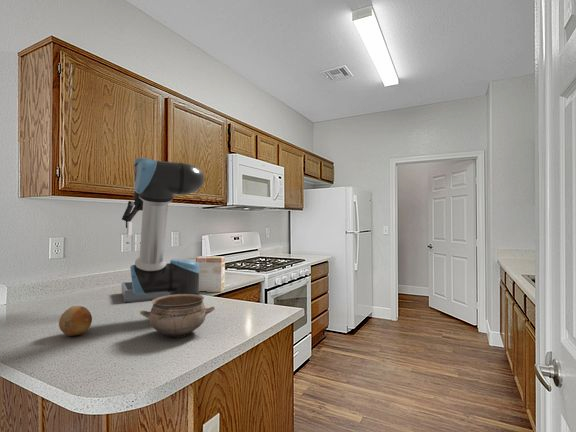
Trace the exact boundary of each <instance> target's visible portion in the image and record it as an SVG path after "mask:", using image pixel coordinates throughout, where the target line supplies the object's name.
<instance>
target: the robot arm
mask: <svg viewBox="0 0 576 432" xmlns="http://www.w3.org/2000/svg"><path fill="white" fill-rule="evenodd" d="M133 167H134V182H133V183H134V184H133V188H134V192H133V199H134V200H133V201H132V200H129V201H128V202H127V207H126V209H125V211H124V213H123V215H122V217H121V220H122V221H124V222H125V228H126V235H127V236H133V221H132V220H133V219H134V217H135V216H136V215H137V213H138V212H139V211H142V213H141V214H142V215H141V216H142V217H141V228H140V229H141V232H140V243H139V244H140V245H139V246H140V248H139V257H137V258H136V260H134V264H132V265H130V267H129V268H130V269H129V270H130V277H131V282H132V286H133V292H134V293H135V294H137V295H141V294H144V295H146V294H154V293H164V292H170V295H175V294H195V295H200V292H199V274H200V272H199V264H198V263H197V262H196V261H195V260H188V259H187V260H186V259H178V258H177V259H175V258H174V259H171V260H170V261H169V263H167V260H166V259H165V258H164V254H165V242H166V241H165V240H166V231H167V230H166V229H167V221H168V220H167V219H168V211H169V210H168V209H169V204H170V203H171V202H173V200H174V195H175V196H176V195H177V196H178V195H179V196H180V195H181V196H182V195H183V196H185V195H191V194H194V193H195V192H197V191H199V190H200V189H201V188H202V187H203V185H204V182H205V175H204V172H203V171H202V170H201V169H200V168H199V167H197V166H195V165H193V164H189V163H185V162H171V161H165V160H164V161H161V160H157V159H155V160H153V159H150V158H146V157H145V158H144V157H138V158H135V159H134V166H133Z"/></svg>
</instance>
